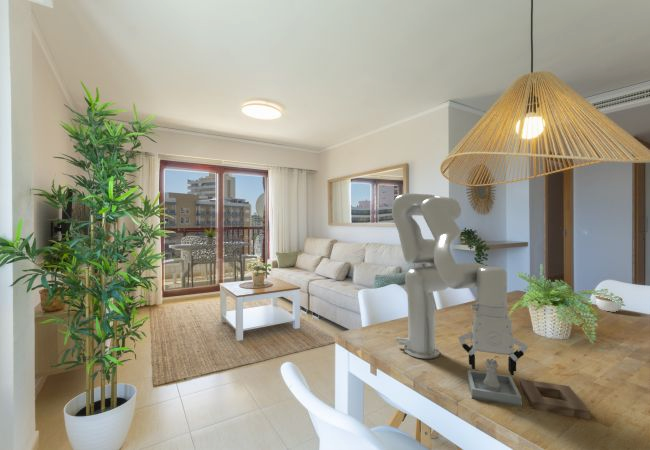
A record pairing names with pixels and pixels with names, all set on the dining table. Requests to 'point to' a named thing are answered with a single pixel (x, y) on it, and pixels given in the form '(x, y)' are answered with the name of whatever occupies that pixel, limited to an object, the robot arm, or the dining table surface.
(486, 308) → the robot arm
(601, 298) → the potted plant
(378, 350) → the dining table surface
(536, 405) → the socket block
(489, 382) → the rook chess piece
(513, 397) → the tray
